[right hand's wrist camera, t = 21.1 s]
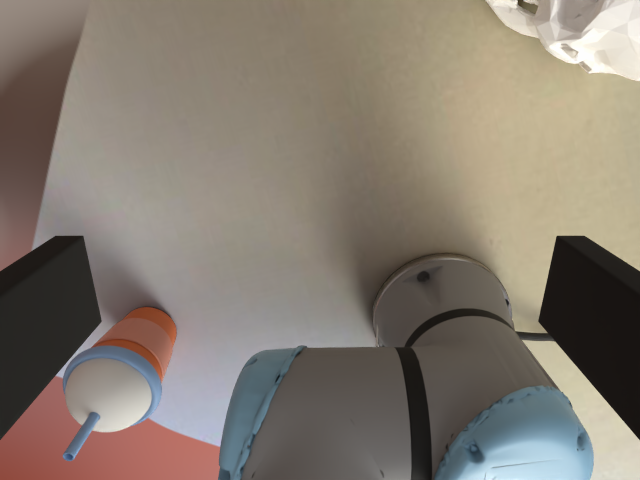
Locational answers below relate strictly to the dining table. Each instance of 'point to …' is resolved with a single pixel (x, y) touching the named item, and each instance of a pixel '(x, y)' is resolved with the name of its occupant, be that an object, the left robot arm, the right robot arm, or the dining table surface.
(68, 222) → the dining table surface
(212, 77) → the dining table surface
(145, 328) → the cup with straw
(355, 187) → the dining table surface
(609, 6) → the skull
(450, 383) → the right robot arm
